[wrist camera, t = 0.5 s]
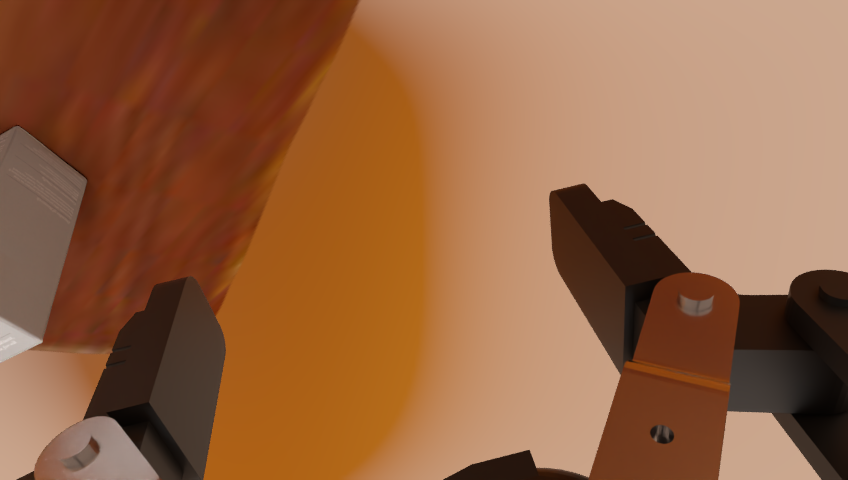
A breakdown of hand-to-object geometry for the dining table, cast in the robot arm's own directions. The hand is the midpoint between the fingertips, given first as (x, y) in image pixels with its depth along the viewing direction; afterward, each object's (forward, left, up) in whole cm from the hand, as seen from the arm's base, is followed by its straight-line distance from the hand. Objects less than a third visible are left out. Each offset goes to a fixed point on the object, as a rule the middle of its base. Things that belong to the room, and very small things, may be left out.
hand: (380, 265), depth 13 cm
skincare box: (-8, -30, -30) cm, 43 cm away
